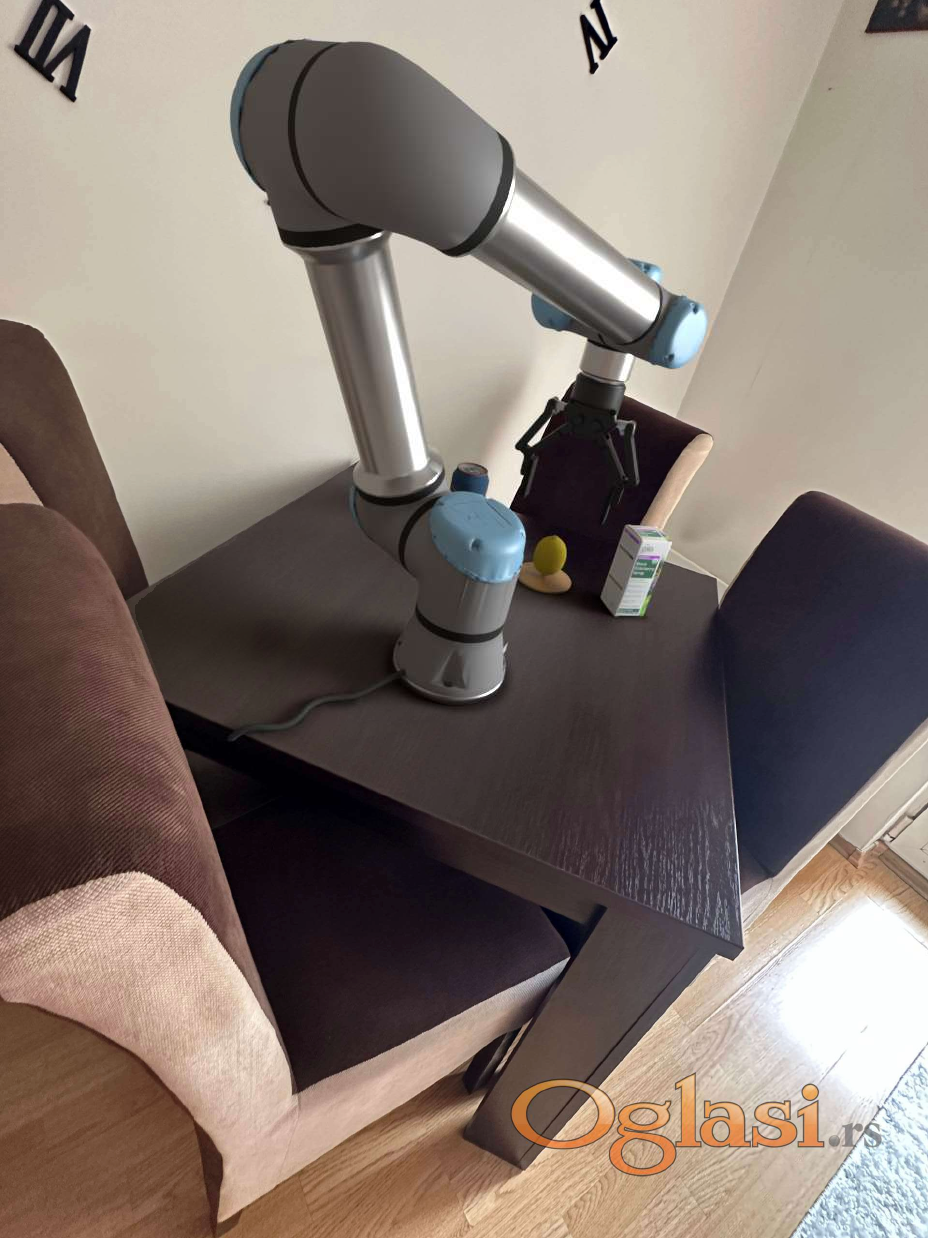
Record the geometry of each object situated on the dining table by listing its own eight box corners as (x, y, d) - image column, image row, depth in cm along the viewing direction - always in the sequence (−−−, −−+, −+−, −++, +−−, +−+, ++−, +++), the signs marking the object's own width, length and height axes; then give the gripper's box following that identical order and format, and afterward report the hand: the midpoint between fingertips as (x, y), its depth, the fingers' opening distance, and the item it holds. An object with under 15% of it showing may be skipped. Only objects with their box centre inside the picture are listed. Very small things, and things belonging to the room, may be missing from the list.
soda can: (439, 518, 127) (449, 459, 120) (472, 519, 129) (484, 462, 123) (448, 534, 122) (460, 474, 115) (483, 535, 124) (496, 477, 118)
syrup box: (613, 617, 108) (643, 540, 100) (598, 597, 113) (625, 522, 105) (643, 617, 110) (674, 541, 102) (627, 597, 115) (655, 524, 107)
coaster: (545, 599, 109) (545, 597, 109) (503, 570, 114) (504, 568, 114) (581, 585, 115) (582, 583, 115) (541, 559, 121) (541, 557, 120)
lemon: (558, 571, 117) (570, 532, 113) (559, 587, 112) (572, 546, 108) (528, 565, 117) (539, 525, 112) (528, 580, 112) (539, 539, 108)
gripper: (688, 397, 96) (638, 526, 107) (531, 351, 102) (500, 478, 113) (682, 406, 90) (631, 541, 101) (516, 356, 95) (485, 490, 107)
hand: (562, 508), depth 107 cm, fingers open, 13 cm apart
